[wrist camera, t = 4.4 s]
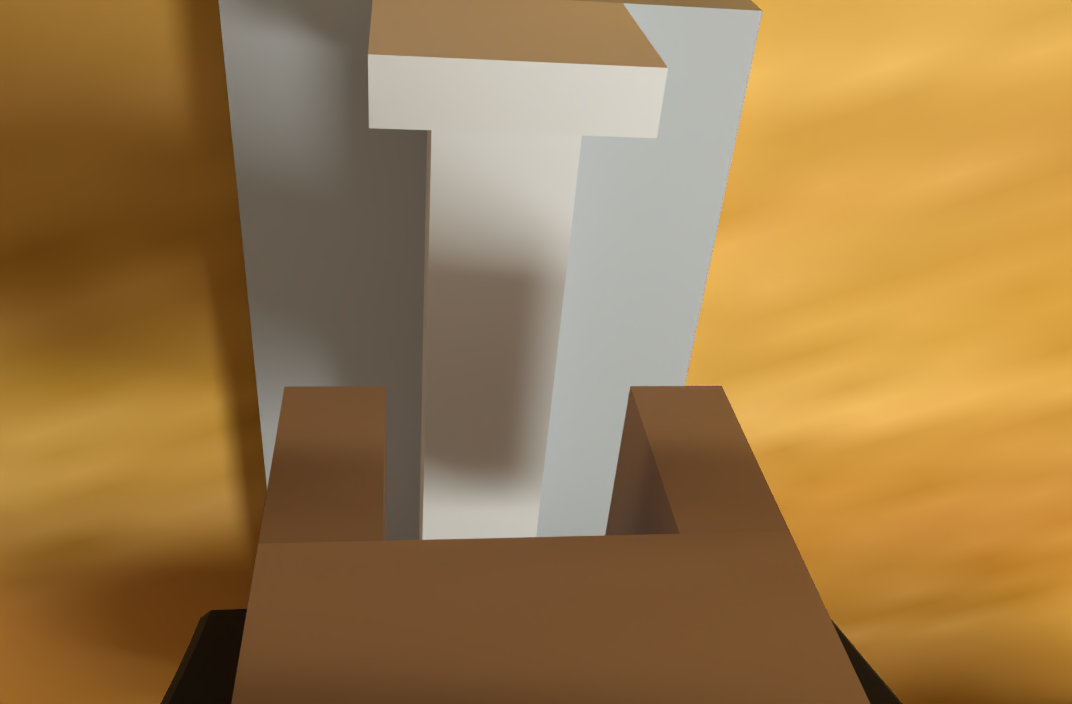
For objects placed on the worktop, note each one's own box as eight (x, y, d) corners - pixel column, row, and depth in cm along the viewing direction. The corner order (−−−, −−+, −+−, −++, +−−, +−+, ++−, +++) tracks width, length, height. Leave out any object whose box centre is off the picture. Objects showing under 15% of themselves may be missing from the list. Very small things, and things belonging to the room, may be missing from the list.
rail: (605, 705, 22) (634, 850, 20) (296, 721, 21) (280, 875, 19) (745, -5, 13) (834, 75, 11) (226, -35, 12) (176, 45, 10)
